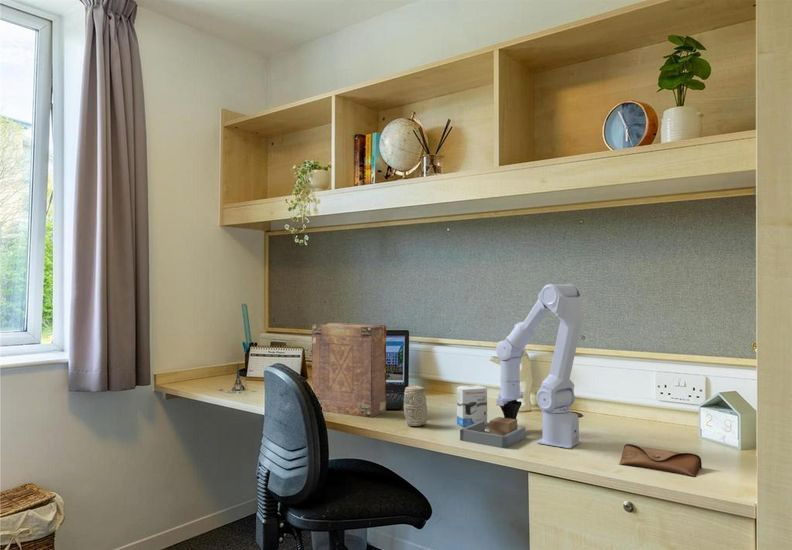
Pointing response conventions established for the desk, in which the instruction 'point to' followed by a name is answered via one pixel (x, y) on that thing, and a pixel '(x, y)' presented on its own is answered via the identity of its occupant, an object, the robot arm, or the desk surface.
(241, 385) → the eiffel tower figurine
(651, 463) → the sunglasses case
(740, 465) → the desk surface
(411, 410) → the carving
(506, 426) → the brown wooden block
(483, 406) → the ink box
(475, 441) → the box
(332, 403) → the book
